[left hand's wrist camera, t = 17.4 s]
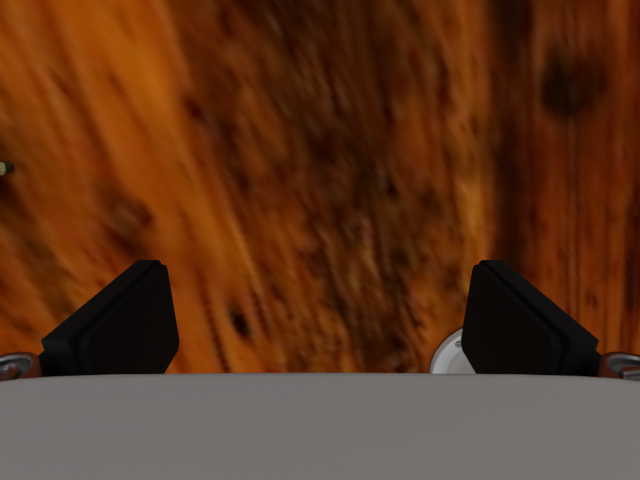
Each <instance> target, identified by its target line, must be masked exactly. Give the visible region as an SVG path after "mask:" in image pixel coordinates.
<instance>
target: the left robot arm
mask: <svg viewBox="0 0 640 480" xmlns="http://www.w3.org/2000/svg"><path fill="white" fill-rule="evenodd" d="M41 342H42V345H43V348H44V351H43V352H42V353H41V354H40V355H39V356H37V355H36V354H34V353H31V352H14V353H8V354H4V355H0V480H640V355H636V354H632V353H626V352H609V353H606V354H604V355H603V356H601V355H600V354H599V353H598V352H597V351H596V348H597V345H598V342H599V340H598V339H597V338H596V337H594V336H593V335H592V334H591V333H589V332H588V331H587V330H586V329H585V328H583V327H582V326H581V325H580V324H579V323H577V322H576V321H575V320H574V319H573V318H571V317H570V316H569V315H568V314H567V313H565V312H564V311H563V310H562V309H561V308H559V307H558V306H557V305H556V304H555V303H553V302H552V301H551V300H550V299H548V298H547V297H546V296H545V295H544V294H542V293H541V292H540V291H539V290H538V289H536V288H535V287H534V286H533V285H532V284H530V283H529V282H528V281H527V280H526V279H524V278H523V277H522V276H521V275H520V274H518V273H517V272H516V271H515V270H514V269H512V268H511V267H510V266H509V265H508V264H506V263H505V262H504V261H502V260H481V261H480V262H479V264H478V265H475V266H474V267H473V270H472V275H471V281H470V287H469V293H468V299H467V305H466V311H465V317H464V323H463V328H462V329H460V330H458V331H457V332H455V333H454V334H452V335H451V336H449V337H448V338H447V339H446V340H445V341H444V342H443V343H442V344H441V345H440V347H439V348H438V349H437V351H436V352H435V354H434V357H433V359H432V361H431V366H430V374H423V373H210V374H164V373H165V371H166V370H167V368H168V366H169V365H170V363H171V361H172V359H173V358H174V356H175V354H176V353H177V351H178V347H179V335H178V329H177V323H176V317H175V311H174V305H173V299H172V293H171V287H170V281H169V275H168V270H167V267H166V266H165V265H162V264H161V262H160V261H159V260H138V261H136V262H135V263H134V264H132V265H131V266H130V267H129V268H128V269H126V270H125V271H124V272H123V273H122V274H120V275H119V276H118V277H117V278H116V279H114V280H113V281H112V282H111V283H110V284H108V285H107V286H106V287H105V288H104V289H102V290H101V291H100V292H99V293H98V294H96V295H95V296H94V297H93V298H92V299H90V300H89V301H88V302H87V303H85V304H84V305H83V306H82V307H81V308H79V309H78V310H77V311H76V312H75V313H73V314H72V315H71V316H70V317H69V318H67V319H66V320H65V321H64V322H63V323H61V324H60V325H59V326H58V327H57V328H55V329H54V330H53V331H52V332H51V333H49V334H48V335H47V336H46V337H44V338H43V339H42V340H41Z"/></svg>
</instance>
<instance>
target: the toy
mask: <svg viewBox="0 0 640 480" xmlns="http://www.w3.org/2000/svg"><path fill="white" fill-rule="evenodd" d="M11 171H12V165H11V164H10V162H8V161H3V162H0V175H5V174H8V173H10V172H11Z"/></svg>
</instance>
